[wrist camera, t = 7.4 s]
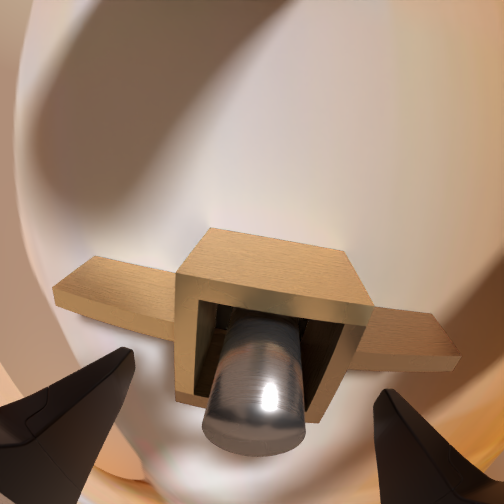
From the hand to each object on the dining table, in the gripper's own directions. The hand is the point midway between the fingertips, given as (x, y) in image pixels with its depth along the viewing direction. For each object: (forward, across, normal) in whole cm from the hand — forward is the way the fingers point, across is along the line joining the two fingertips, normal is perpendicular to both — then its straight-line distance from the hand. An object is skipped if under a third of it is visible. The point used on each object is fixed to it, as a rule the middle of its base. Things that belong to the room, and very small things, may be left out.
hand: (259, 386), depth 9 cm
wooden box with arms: (+6, 0, 0) cm, 6 cm away
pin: (+6, 0, 0) cm, 6 cm away
